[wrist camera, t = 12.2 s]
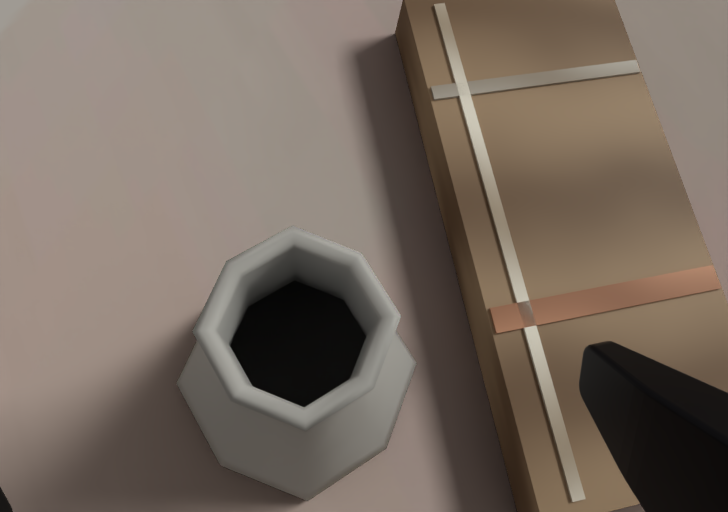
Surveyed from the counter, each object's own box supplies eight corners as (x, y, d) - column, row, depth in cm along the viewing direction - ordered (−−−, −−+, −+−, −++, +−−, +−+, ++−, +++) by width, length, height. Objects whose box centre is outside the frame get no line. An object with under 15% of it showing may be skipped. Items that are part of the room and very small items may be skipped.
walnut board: (740, 461, 20) (790, 465, 18) (518, 518, 18) (545, 528, 16) (581, 11, 24) (607, -26, 22) (395, 32, 23) (404, -5, 21)
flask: (136, 387, 18) (-41, 348, 9) (290, 225, 20) (282, 49, 11) (310, 545, 18) (321, 687, 8) (452, 360, 20) (596, 301, 10)
